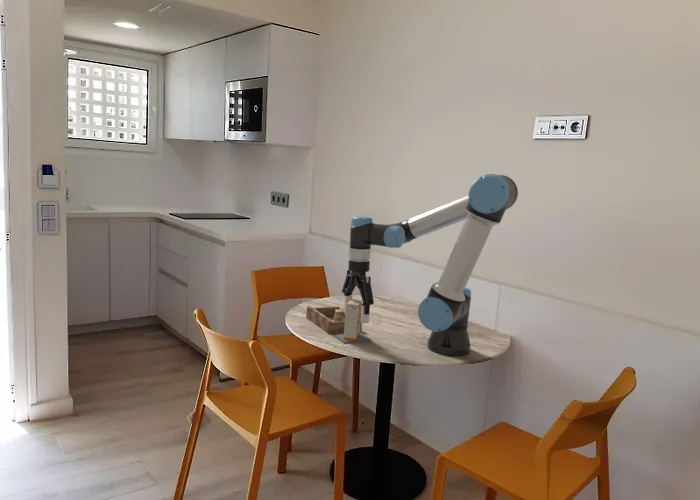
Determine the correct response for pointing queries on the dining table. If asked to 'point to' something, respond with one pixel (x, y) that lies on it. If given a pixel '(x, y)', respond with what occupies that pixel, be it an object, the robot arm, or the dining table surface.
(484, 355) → the dining table surface
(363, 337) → the mat
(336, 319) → the offcut lower
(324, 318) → the wooden tray
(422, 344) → the dining table surface
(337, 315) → the offcut upper
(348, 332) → the supplement box
